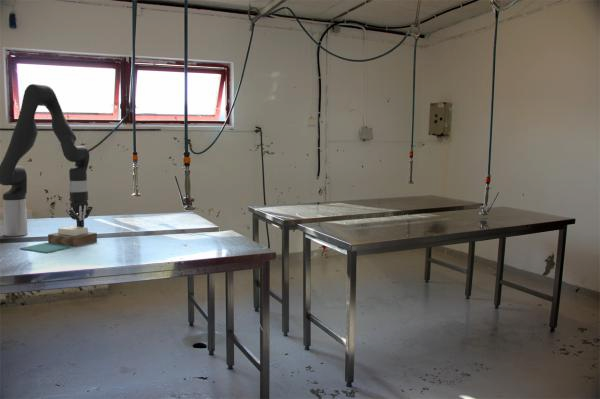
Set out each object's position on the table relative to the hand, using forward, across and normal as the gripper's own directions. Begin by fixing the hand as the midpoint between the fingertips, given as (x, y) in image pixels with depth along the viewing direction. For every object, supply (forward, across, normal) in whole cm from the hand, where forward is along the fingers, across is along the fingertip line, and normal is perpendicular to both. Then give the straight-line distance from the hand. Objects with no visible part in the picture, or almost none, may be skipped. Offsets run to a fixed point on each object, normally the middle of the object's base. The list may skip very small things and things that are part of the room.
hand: (80, 228), depth 210 cm
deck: (+6, +5, +1) cm, 8 cm away
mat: (+6, +18, +1) cm, 19 cm away
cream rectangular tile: (+2, +5, +1) cm, 5 cm away
